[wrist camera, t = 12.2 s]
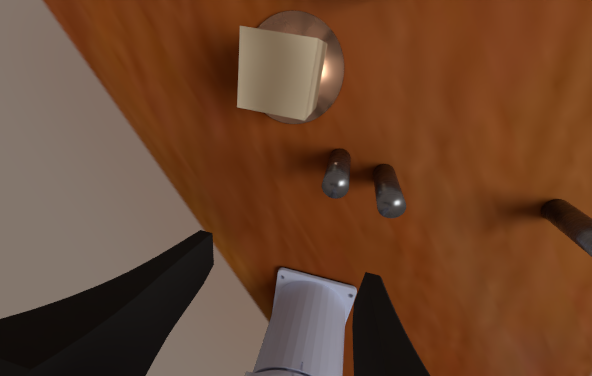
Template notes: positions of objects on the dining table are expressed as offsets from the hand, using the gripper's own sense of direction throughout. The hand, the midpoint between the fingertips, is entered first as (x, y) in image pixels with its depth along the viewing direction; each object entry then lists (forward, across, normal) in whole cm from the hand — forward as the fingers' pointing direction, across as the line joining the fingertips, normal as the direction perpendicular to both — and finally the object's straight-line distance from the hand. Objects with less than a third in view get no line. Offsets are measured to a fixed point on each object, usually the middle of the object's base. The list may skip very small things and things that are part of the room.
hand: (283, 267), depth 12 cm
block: (+10, +3, -7) cm, 13 cm away
